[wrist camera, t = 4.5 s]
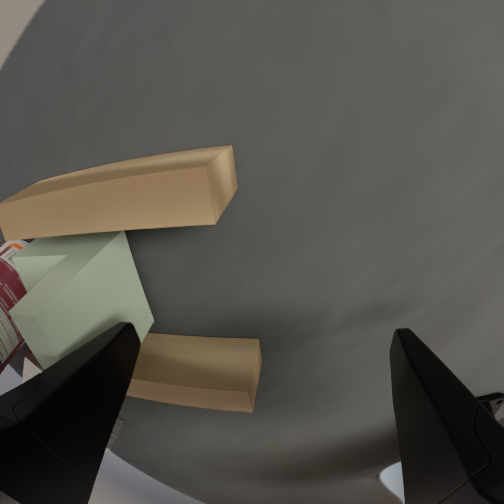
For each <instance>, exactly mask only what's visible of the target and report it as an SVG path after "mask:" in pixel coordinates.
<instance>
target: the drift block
mask: <svg viewBox="0 0 504 504" xmlns="http://www.w3.org/2000/svg"><path fill="white" fill-rule="evenodd" d="M12 260H13V262H14V264H15V267H16V269H17V271H18V274H19V276H20V278H21V280H22V282H23V285H24V287H25V289H26V291H27V294H26V295H25V296H24V297H23V298H22V299H21V300H20V301H19V302H18V303H17V304H16V305H15V306H14V307H13V308H12V309H11V310H10V311H9V314H10V316H11V318H12V320H13V321H14V323H15V325H16V327H17V328H18V330H19V332H20V333H21V335H22V337H23V338H24V340H25V342H26V343H27V345H28V346H29V348H30V350H31V351H32V353H33V354H34V356H35V357H36V359H37V360H38V362H39V363H40V365H41V366H42V368H43V369H44V370H45V369H46V368H48V367H50V366H51V365H53V364H54V363H56V362H57V361H59V360H60V359H62V358H64V357H65V356H67V355H68V354H70V353H71V352H73V351H75V350H76V349H78V348H79V347H81V346H83V345H84V344H86V343H87V342H89V341H90V340H92V339H94V338H95V337H97V336H98V335H100V334H101V333H103V332H105V331H106V330H108V329H109V328H111V327H113V326H114V325H116V324H117V323H119V322H122V321H124V322H131V323H132V324H133V325H134V326H135V329H136V331H137V334H138V336H139V338H140V341H141V343H142V341H143V340H144V338H145V336H146V334H147V333H148V331H149V329H150V327H151V326H152V324H153V322H154V319H153V316H152V313H151V311H150V308H149V305H148V302H147V299H146V297H145V294H144V291H143V288H142V285H141V282H140V279H139V276H138V273H137V270H136V267H135V264H134V261H133V258H132V254H131V251H130V248H129V245H128V241H127V238H126V235H125V231H124V230H122V231H109V232H96V233H84V234H73V235H62V236H51V237H41V238H35V239H34V240H33V241H31V242H30V243H29V244H28V245H26V246H25V247H24V248H22V249H21V250H20V251H19V252H17V253H16V254H15V255H14V256H12Z"/></svg>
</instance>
